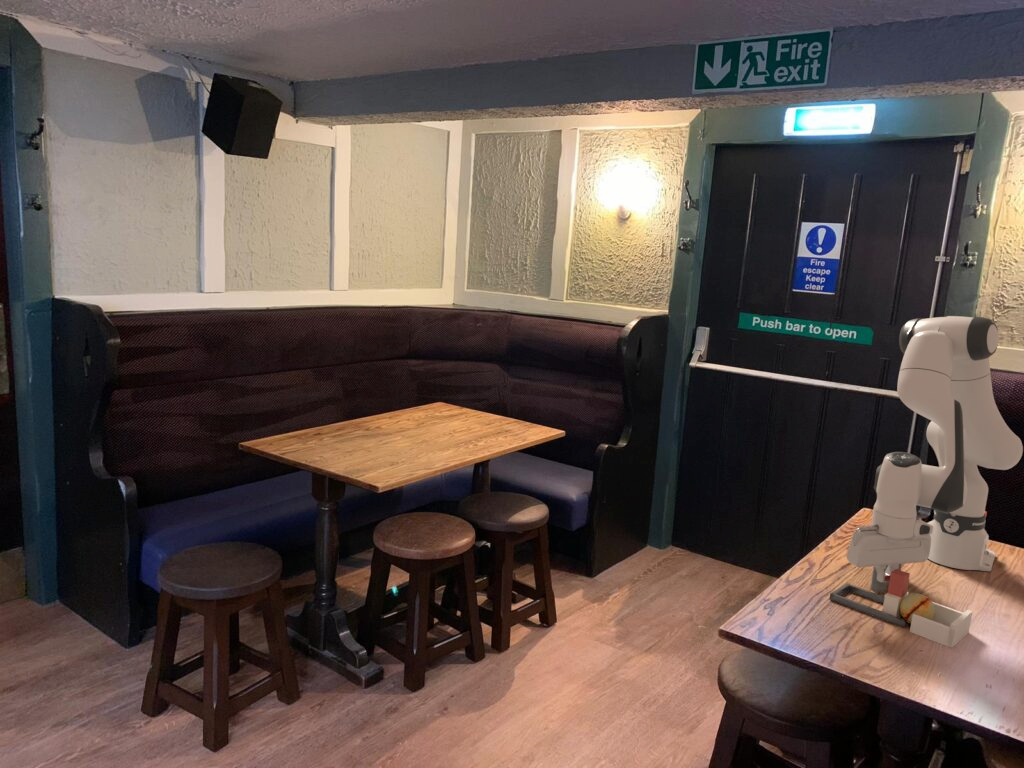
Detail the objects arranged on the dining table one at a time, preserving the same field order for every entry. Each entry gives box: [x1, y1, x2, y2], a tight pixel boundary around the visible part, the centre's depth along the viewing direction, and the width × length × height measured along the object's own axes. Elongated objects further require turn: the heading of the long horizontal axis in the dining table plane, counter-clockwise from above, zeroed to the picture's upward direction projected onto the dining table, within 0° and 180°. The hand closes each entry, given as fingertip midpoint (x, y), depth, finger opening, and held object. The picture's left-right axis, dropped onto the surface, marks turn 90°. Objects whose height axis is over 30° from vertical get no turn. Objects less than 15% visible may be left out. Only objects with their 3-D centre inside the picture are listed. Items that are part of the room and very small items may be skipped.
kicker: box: [881, 569, 911, 618], centre depth 177 cm, size 6×3×10 cm, turn 133°
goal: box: [909, 601, 973, 649], centre depth 170 cm, size 11×8×5 cm
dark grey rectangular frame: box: [829, 583, 907, 629], centre depth 181 cm, size 9×17×2 cm, turn 43°
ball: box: [900, 592, 935, 625], centre depth 173 cm, size 7×7×7 cm
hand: (884, 581), depth 179 cm, fingers closed
